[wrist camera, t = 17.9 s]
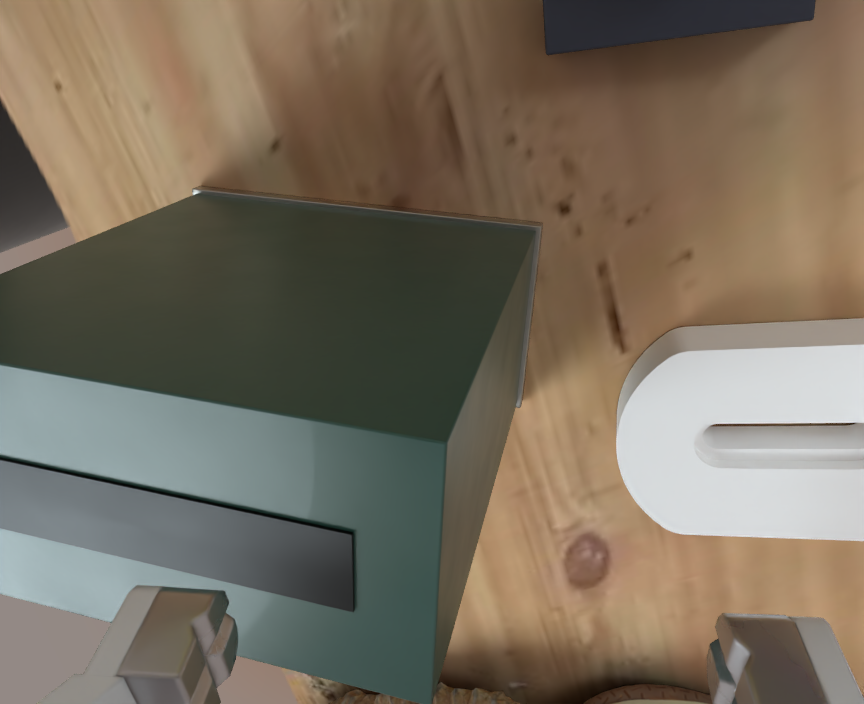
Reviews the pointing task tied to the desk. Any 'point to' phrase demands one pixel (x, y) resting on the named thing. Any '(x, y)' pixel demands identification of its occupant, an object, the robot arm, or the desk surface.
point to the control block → (658, 20)
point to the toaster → (267, 421)
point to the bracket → (748, 430)
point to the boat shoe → (650, 695)
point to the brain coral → (446, 699)
